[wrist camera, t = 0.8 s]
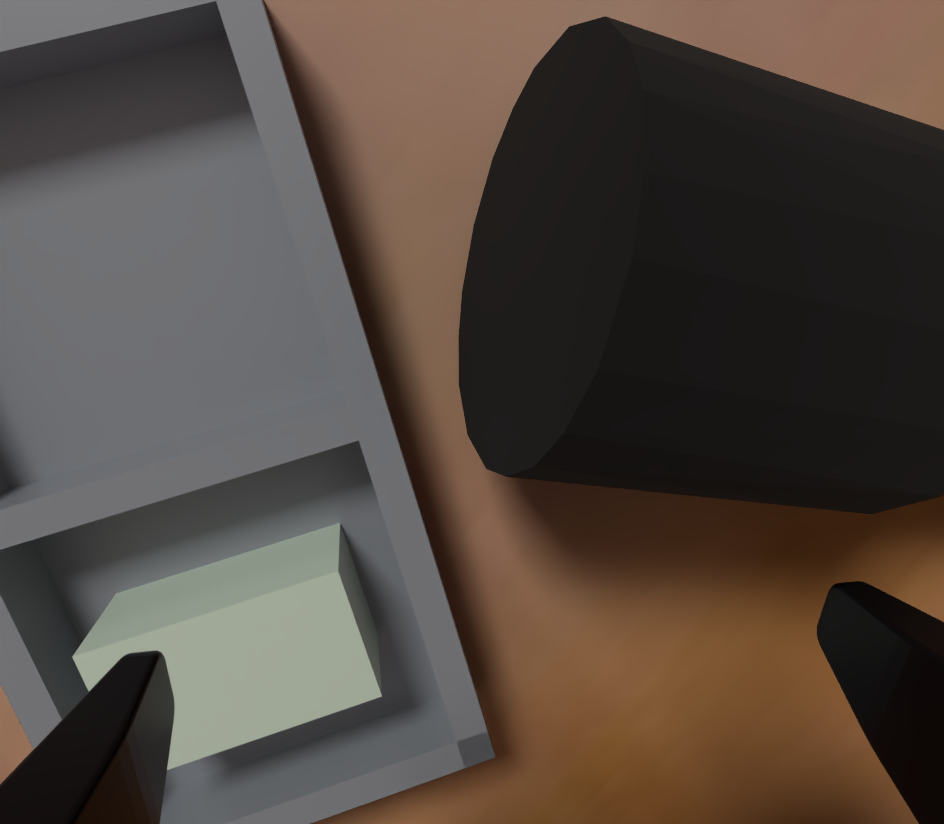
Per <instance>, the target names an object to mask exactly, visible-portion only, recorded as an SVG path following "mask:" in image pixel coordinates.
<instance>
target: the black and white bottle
mask: <svg viewBox="0 0 944 824" xmlns="http://www.w3.org/2000/svg"><path fill="white" fill-rule="evenodd" d="M459 387H460V393H461V399H462V405H463V411H464V416H465V422H466V428H467V434H468V436H469V438H470V440H471V442H472V444H473V445H474V447H475V449H476V451H477V453H478V454H479V456H480V458H481V460H482V462H483V463H484V465H485V467H486V469H488V470H491V471H493V472H496V473H499V474H501V475H504V476H506V477H516V478H526V479H535V480H545V481H555V482H565V483H574V484H584V485H594V486H604V487H613V488H623V489H633V490H642V491H652V492H662V493H672V494H681V495H691V496H701V497H710V498H720V499H730V500H740V501H749V502H759V503H769V504H778V505H788V506H798V507H808V508H817V509H827V510H837V511H846V512H856V513H866V514H874V513H878V512H882V511H886V510H890V509H893V508H897V507H901V506H905V505H909V504H913V503H916V502H920V501H924V500H928V499H932V498H936V497H940V496H942V495H943V494H944V130H942V129H939V128H936V127H933V126H930V125H927V124H924V123H921V122H918V121H915V120H912V119H909V118H906V117H903V116H900V115H897V114H894V113H891V112H888V111H885V110H882V109H879V108H876V107H873V106H870V105H867V104H864V103H861V102H858V101H855V100H852V99H850V98H847V97H844V96H841V95H838V94H835V93H832V92H829V91H826V90H823V89H820V88H817V87H814V86H811V85H808V84H805V83H802V82H799V81H796V80H793V79H790V78H787V77H784V76H781V75H778V74H775V73H772V72H769V71H766V70H763V69H760V68H757V67H754V66H751V65H748V64H745V63H742V62H739V61H736V60H733V59H730V58H728V57H725V56H722V55H719V54H716V53H713V52H710V51H707V50H704V49H701V48H698V47H695V46H692V45H689V44H686V43H683V42H680V41H677V40H674V39H671V38H668V37H665V36H662V35H659V34H656V33H653V32H650V31H647V30H644V29H641V28H638V27H635V26H632V25H629V24H626V23H623V22H620V21H617V20H614V19H611V18H608V17H606V16H605V17H602V18H598V19H595V20H591V21H587V22H584V23H580V24H577V25H573V26H570V27H568V29H567V30H566V31H565V32H564V33H563V35H562V36H561V37H560V38H559V39H558V40H557V42H556V43H555V44H554V45H553V46H552V48H551V49H550V50H549V51H548V52H547V53H546V55H545V56H544V57H543V58H542V59H541V61H540V62H539V63H538V64H537V65H536V67H535V68H534V69H533V71H532V73H531V75H530V77H529V79H528V81H527V83H526V85H525V87H524V88H523V90H522V92H521V94H520V96H519V98H518V100H517V102H516V104H515V106H514V107H513V110H512V112H511V115H510V117H509V120H508V122H507V124H506V127H505V129H504V132H503V134H502V137H501V139H500V142H499V144H498V147H497V149H496V152H495V154H494V157H493V160H492V163H491V167H490V170H489V174H488V177H487V181H486V184H485V188H484V191H483V195H482V199H481V202H480V206H479V209H478V213H477V216H476V220H475V223H474V228H473V233H472V239H471V245H470V251H469V256H468V262H467V268H466V273H465V279H464V285H463V291H462V301H461V314H460V327H459Z"/></svg>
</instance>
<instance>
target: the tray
mask: <svg viewBox="0 0 944 824" xmlns="http://www.w3.org/2000/svg"><path fill="white" fill-rule="evenodd" d="M155 650H156V651H160V652H162V654H163V655H164V657H165V660H166V665H167V669H168V673H169V678H170V682H171V687H172V691H173V695H174V703H175V711H174V722H173V729H172V737H171V744H170V751H169V759H168V766H167V774H166V781H165V788H164V796H163V803H162V810H161V818H160V824H311V823H314V822H316V821H319V820H322V819H325V818H328V817H330V816H333V815H336V814H339V813H342V812H344V811H347V810H350V809H353V808H356V807H358V806H361V805H364V804H367V803H370V802H372V801H375V800H378V799H381V798H384V797H386V796H389V795H392V794H395V793H398V792H400V791H403V790H406V789H409V788H412V787H414V786H417V785H420V784H423V783H426V782H428V781H431V780H434V779H437V778H440V777H442V776H445V775H448V774H451V773H453V772H456V771H459V770H462V769H465V768H467V767H470V766H473V765H476V764H479V763H481V762H484V761H487V760H490V759H493V758H495V753H494V750H493V746H492V743H491V739H490V736H489V733H488V729H487V726H486V722H485V719H484V715H483V712H482V708H481V705H480V701H479V698H478V694H477V691H476V688H475V684H474V681H473V678H472V675H471V671H470V668H469V665H468V662H467V658H466V655H465V652H464V649H463V646H462V642H461V639H460V636H459V633H458V629H457V626H456V623H455V620H454V616H453V613H452V610H451V607H450V603H449V600H448V597H447V594H446V590H445V587H444V584H443V581H442V578H441V574H440V571H439V568H438V565H437V561H436V558H435V555H434V552H433V548H432V545H431V542H430V539H429V535H428V532H427V529H426V526H425V522H424V519H423V516H422V513H421V509H420V506H419V503H418V500H417V497H416V493H415V490H414V487H413V484H412V480H411V477H410V474H409V471H408V467H407V464H406V461H405V458H404V454H403V451H402V448H401V445H400V441H399V438H398V435H397V432H396V429H395V425H394V422H393V419H392V416H391V412H390V409H389V406H388V403H387V399H386V396H385V393H384V390H383V386H382V383H381V380H380V377H379V373H378V370H377V367H376V364H375V361H374V357H373V354H372V351H371V348H370V344H369V341H368V338H367V335H366V331H365V328H364V325H363V322H362V318H361V315H360V312H359V309H358V305H357V302H356V299H355V296H354V292H353V289H352V286H351V283H350V280H349V276H348V273H347V270H346V267H345V263H344V260H343V257H342V254H341V250H340V247H339V244H338V241H337V237H336V234H335V231H334V228H333V224H332V221H331V218H330V215H329V212H328V208H327V205H326V202H325V199H324V195H323V192H322V189H321V186H320V182H319V179H318V176H317V173H316V169H315V166H314V163H313V160H312V156H311V153H310V150H309V147H308V143H307V140H306V137H305V134H304V131H303V127H302V124H301V121H300V118H299V114H298V111H297V108H296V105H295V101H294V98H293V95H292V92H291V88H290V85H289V82H288V79H287V75H286V72H285V69H284V66H283V63H282V59H281V56H280V53H279V50H278V46H277V43H276V40H275V37H274V33H273V30H272V27H271V24H270V20H269V17H268V14H267V11H266V7H265V4H264V1H263V0H0V684H1V686H2V688H3V690H4V692H5V694H6V696H7V698H8V700H9V702H10V704H11V706H12V708H13V710H14V712H15V714H16V716H17V718H18V720H19V722H20V723H21V725H22V727H23V729H24V731H25V733H26V735H27V737H28V739H29V741H30V743H31V745H32V747H33V749H35V748H36V747H37V745H38V744H39V743H40V742H41V741H42V740H43V739H44V738H45V737H46V736H47V735H48V734H49V733H50V732H51V731H52V730H53V729H54V728H55V727H56V726H57V725H58V723H59V722H60V721H61V720H62V719H63V718H64V717H65V716H66V715H67V714H68V713H69V712H70V711H71V710H72V709H73V708H74V707H75V706H76V705H77V704H78V702H79V701H80V700H81V699H82V698H83V697H84V696H85V695H86V694H87V693H88V692H89V691H90V690H91V689H92V688H93V687H94V686H95V685H96V684H97V683H98V682H99V680H100V679H101V678H102V677H103V676H104V675H105V674H106V673H107V672H108V671H109V670H110V669H111V668H112V667H113V666H114V665H115V664H116V663H117V662H118V661H119V660H120V659H121V658H122V657H123V656H125V655H126V654H129V653H134V652H145V651H155Z"/></svg>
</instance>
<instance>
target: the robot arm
mask: <svg viewBox="0 0 944 824" xmlns="http://www.w3.org/2000/svg"><path fill="white" fill-rule="evenodd" d="M817 637H818V641H819V644H820V646H821V648H822V650H823V652H824V654H825V656H826V658H827V660H828V662H829V664H830V666H831V668H832V670H833V672H834V674H835V676H836V678H837V680H838V682H839V684H840V686H841V688H842V690H843V692H844V694H845V696H846V698H847V700H848V702H849V704H850V706H851V708H852V710H853V712H854V714H855V716H856V718H857V720H858V722H859V724H860V726H861V728H862V730H863V732H864V734H865V736H866V737H867V739H868V741H869V743H870V745H871V747H872V748H873V750H874V752H875V753H876V755H877V757H878V758H879V760H880V762H881V763H882V765H883V767H884V768H885V770H886V771H887V773H888V775H889V776H890V778H891V779H892V781H893V783H894V784H895V786H896V788H897V789H898V791H899V792H900V794H901V796H902V797H903V799H904V800H905V802H906V804H907V805H908V807H909V808H910V810H911V812H912V813H913V815H914V816H915V818H916V820H917V821H918V823H919V824H944V622H942V621H940V620H938V619H936V618H934V617H932V616H930V615H928V614H926V613H924V612H922V611H921V610H919V609H917V608H915V607H913V606H911V605H909V604H907V603H905V602H903V601H901V600H899V599H897V598H895V597H893V596H891V595H889V594H887V593H885V592H883V591H881V590H879V589H877V588H875V587H873V586H871V585H869V584H867V583H865V582H859V581H855V582H845V583H837V584H834V585H833V586H832V587H831V588H830V589H829V591H828V594H827V597H826V600H825V603H824V606H823V609H822V612H821V615H820V618H819V621H818V625H817ZM174 711H175V703H174V695H173V691H172V687H171V682H170V678H169V673H168V669H167V665H166V660H165V657H164V655H163V654H162V652H160V651H156V650H155V651H145V652H134V653H129V654H126V655H125V656H123V657H122V658H121V659H120V660H119V661H118V662H117V663H116V664H115V665H114V666H113V667H112V668H111V669H110V670H109V671H108V672H107V673H106V674H105V675H104V676H103V677H102V678H101V679H100V680H99V682H98V683H97V684H96V685H95V686H94V687H93V688H92V689H91V690H90V691H89V692H88V693H87V694H86V695H85V696H84V697H83V698H82V699H81V700H80V701H79V702H78V704H77V705H76V706H75V707H74V708H73V709H72V710H71V711H70V712H69V713H68V714H67V715H66V716H65V717H64V718H63V719H62V720H61V721H60V722H59V723H58V725H57V726H56V727H55V728H54V729H53V730H52V731H51V732H50V733H49V734H48V735H47V736H46V737H45V738H44V739H43V740H42V741H41V742H40V743H39V744H38V745H37V747H36V748H35V749H34V750H33V751H32V752H31V753H30V754H29V755H28V756H27V757H26V758H25V759H24V760H23V761H22V762H21V763H20V764H19V765H18V766H17V767H16V769H15V770H14V771H13V772H12V773H11V774H10V775H9V776H8V777H7V778H6V779H5V780H4V781H3V782H2V783H1V784H0V824H160V818H161V810H162V803H163V796H164V788H165V781H166V774H167V766H168V759H169V751H170V744H171V737H172V729H173V722H174Z"/></svg>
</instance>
